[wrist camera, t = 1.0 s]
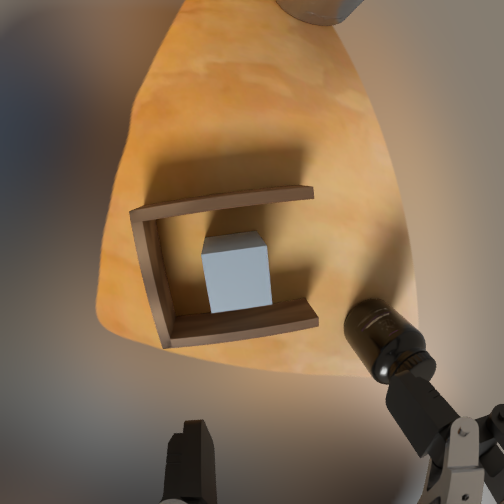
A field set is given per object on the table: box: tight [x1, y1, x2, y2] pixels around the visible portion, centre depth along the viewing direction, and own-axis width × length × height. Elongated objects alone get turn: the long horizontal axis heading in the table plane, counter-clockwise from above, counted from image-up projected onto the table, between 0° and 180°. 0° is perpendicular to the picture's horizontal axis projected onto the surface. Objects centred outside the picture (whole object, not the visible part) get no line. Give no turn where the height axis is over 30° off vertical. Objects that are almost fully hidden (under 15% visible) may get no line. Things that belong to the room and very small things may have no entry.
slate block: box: [201, 231, 272, 313], centre depth 24 cm, size 5×5×6 cm
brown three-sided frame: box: [129, 185, 319, 349], centre depth 25 cm, size 13×15×4 cm
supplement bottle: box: [344, 299, 436, 385], centre depth 25 cm, size 7×7×12 cm
